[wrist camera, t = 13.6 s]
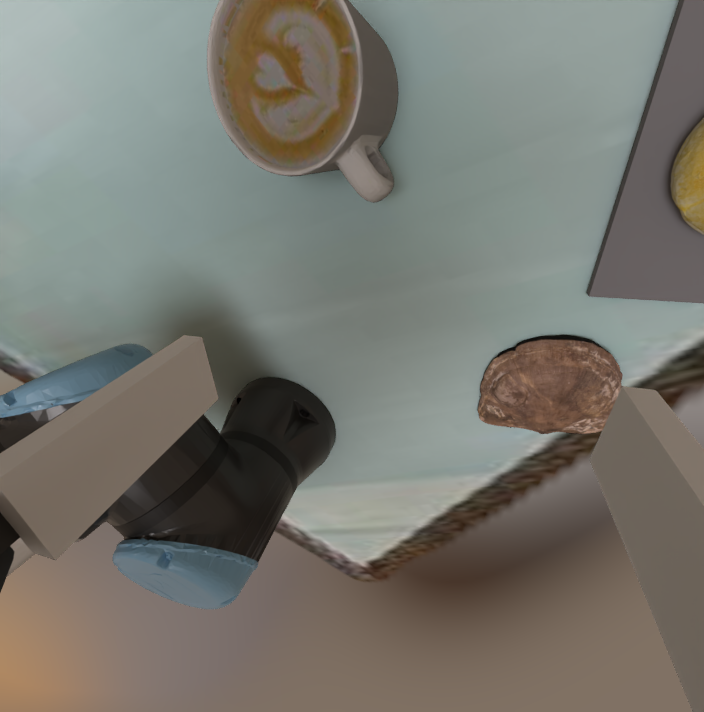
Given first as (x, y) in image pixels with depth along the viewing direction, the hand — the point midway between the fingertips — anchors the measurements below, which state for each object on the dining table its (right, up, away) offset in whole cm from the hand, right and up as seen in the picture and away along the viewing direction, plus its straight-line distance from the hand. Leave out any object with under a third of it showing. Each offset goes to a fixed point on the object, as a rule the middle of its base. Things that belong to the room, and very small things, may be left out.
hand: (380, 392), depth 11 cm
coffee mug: (-1, +21, +18) cm, 27 cm away
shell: (+19, -2, +24) cm, 31 cm away
